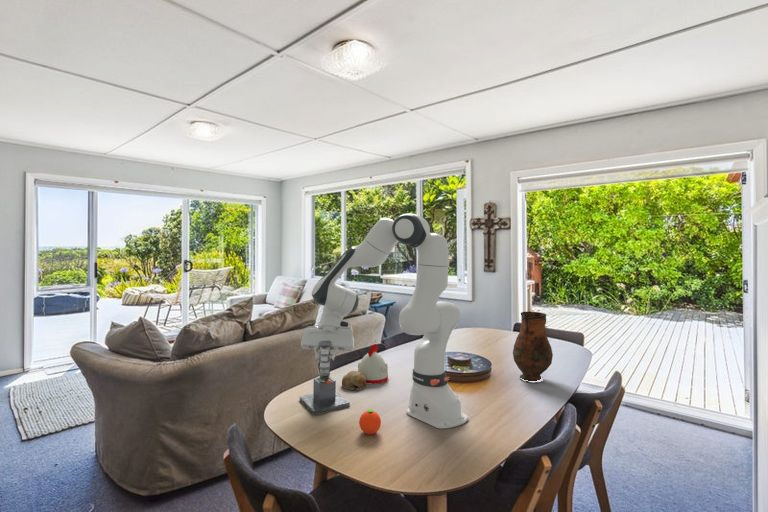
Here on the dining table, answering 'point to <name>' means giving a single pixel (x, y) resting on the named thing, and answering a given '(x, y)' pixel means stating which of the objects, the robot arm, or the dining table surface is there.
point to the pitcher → (532, 346)
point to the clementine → (370, 422)
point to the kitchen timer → (373, 367)
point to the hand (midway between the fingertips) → (324, 359)
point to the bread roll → (354, 380)
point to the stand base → (324, 397)
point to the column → (324, 360)
